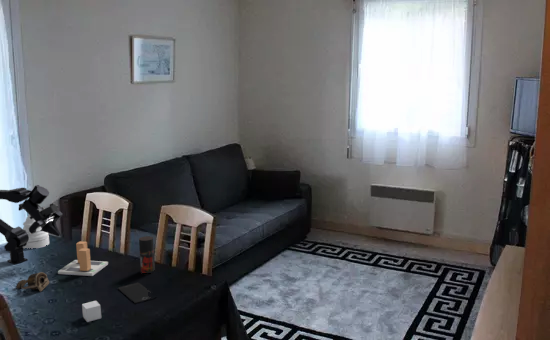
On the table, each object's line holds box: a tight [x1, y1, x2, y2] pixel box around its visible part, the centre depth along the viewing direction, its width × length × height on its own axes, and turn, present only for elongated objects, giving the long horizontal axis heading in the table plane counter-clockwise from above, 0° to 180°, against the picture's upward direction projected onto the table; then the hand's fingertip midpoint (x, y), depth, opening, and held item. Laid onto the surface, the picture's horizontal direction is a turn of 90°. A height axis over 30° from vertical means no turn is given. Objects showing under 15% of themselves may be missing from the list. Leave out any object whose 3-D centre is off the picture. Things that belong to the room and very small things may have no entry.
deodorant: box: [138, 235, 156, 274], centre depth 234 cm, size 6×6×15 cm
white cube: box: [81, 300, 102, 323], centre depth 192 cm, size 5×5×5 cm
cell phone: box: [117, 282, 152, 305], centre depth 213 cm, size 9×18×1 cm, turn 37°
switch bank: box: [57, 259, 109, 277], centre depth 239 cm, size 16×14×1 cm
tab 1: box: [75, 240, 88, 263], centre depth 242 cm, size 4×3×9 cm
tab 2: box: [78, 248, 92, 271], centre depth 233 cm, size 4×3×9 cm
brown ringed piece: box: [15, 271, 50, 292], centre depth 218 cm, size 7×13×10 cm
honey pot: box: [22, 214, 50, 250], centre depth 271 cm, size 13×13×18 cm
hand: (59, 235), depth 243 cm, fingers closed
